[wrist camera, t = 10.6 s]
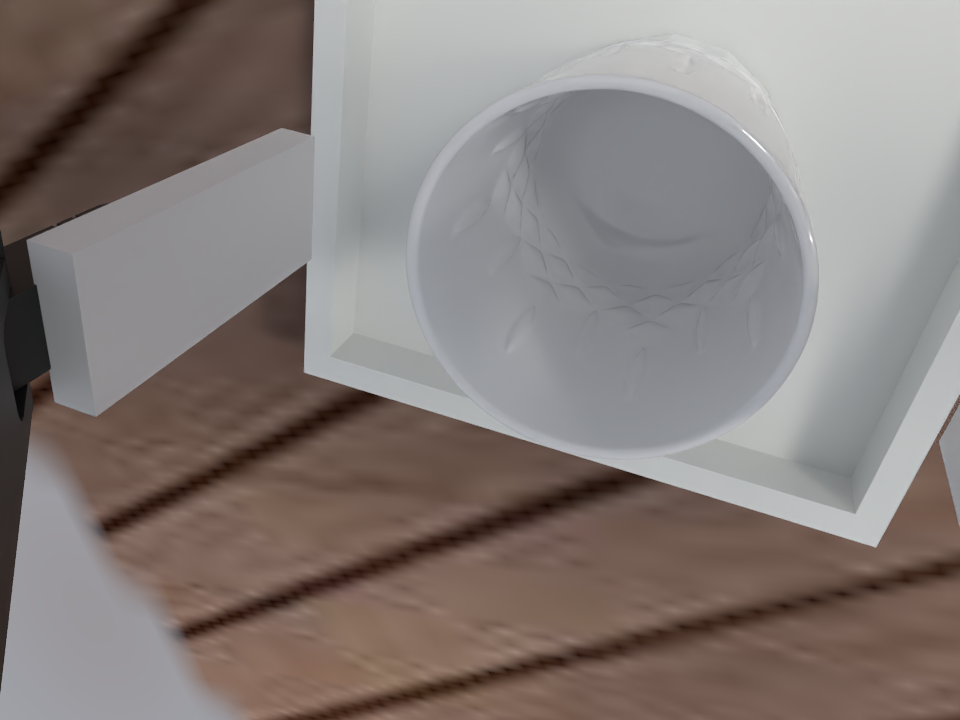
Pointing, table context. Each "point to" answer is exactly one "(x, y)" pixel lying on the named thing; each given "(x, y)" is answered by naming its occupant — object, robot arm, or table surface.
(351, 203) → the grey tray
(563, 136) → the white cup
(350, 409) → the table surface
